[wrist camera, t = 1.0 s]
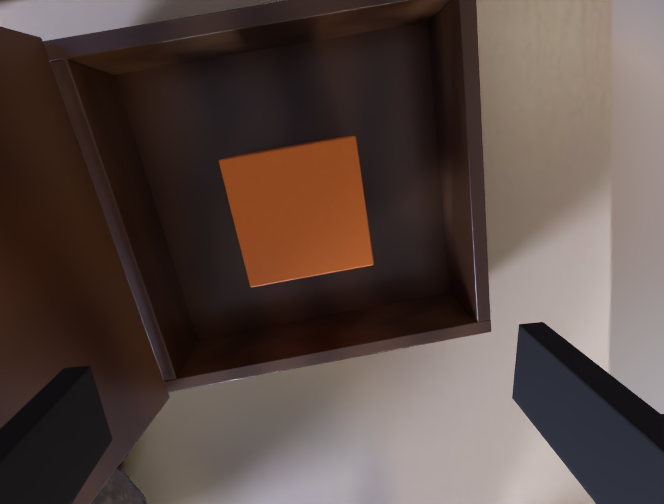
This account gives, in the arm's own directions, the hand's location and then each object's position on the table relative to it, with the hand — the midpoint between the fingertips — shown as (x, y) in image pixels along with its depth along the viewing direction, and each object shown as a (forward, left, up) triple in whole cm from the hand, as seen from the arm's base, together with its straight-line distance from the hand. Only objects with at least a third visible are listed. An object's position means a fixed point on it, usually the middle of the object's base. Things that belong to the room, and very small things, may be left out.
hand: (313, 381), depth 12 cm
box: (0, -3, -17) cm, 18 cm away
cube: (0, -3, -17) cm, 17 cm away
